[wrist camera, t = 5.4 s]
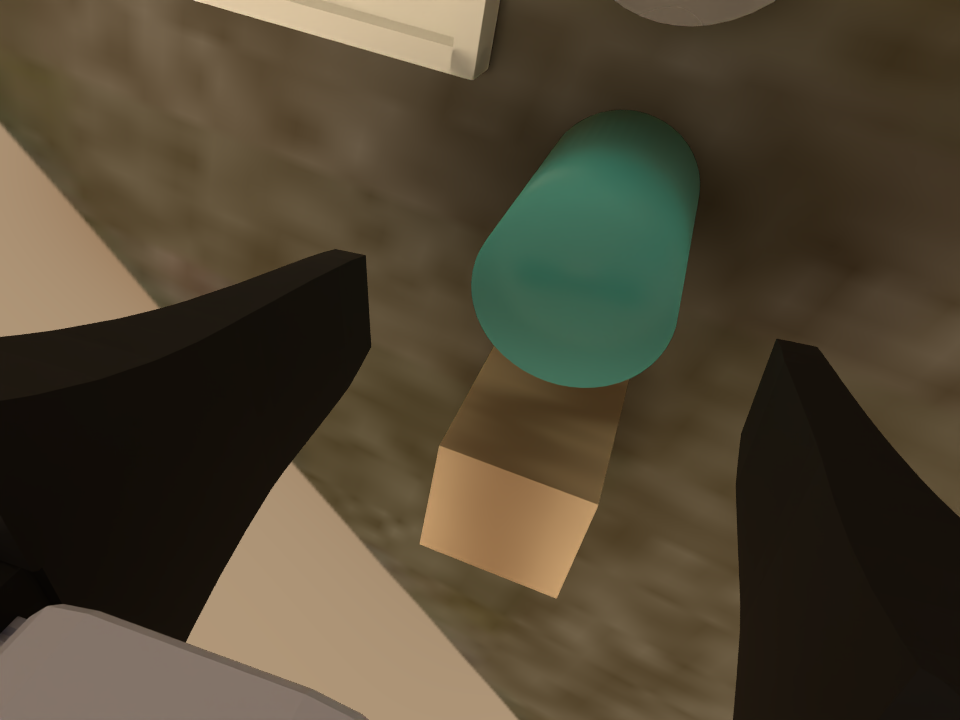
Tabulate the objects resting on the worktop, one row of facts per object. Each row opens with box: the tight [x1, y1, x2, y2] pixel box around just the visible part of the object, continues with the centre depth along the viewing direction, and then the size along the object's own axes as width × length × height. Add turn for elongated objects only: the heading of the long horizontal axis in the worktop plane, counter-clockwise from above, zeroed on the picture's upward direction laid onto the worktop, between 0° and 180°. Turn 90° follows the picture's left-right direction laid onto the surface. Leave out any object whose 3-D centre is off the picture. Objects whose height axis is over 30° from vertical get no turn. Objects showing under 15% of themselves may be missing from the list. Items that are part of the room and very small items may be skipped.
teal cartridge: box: [471, 110, 700, 388], centre depth 15 cm, size 4×4×6 cm
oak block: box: [420, 346, 629, 598], centre depth 20 cm, size 4×4×6 cm
